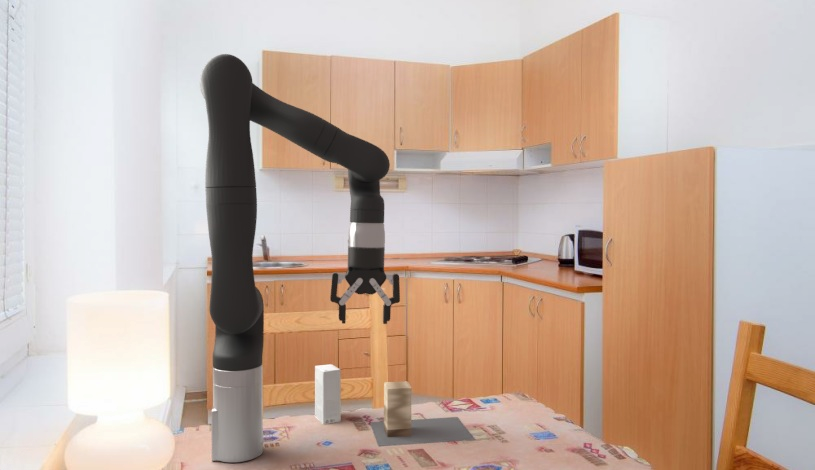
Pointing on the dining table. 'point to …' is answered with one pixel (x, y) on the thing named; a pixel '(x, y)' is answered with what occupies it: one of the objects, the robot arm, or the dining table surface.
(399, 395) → the birch block
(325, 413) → the skincare box
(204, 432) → the dining table surface
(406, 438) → the mat
